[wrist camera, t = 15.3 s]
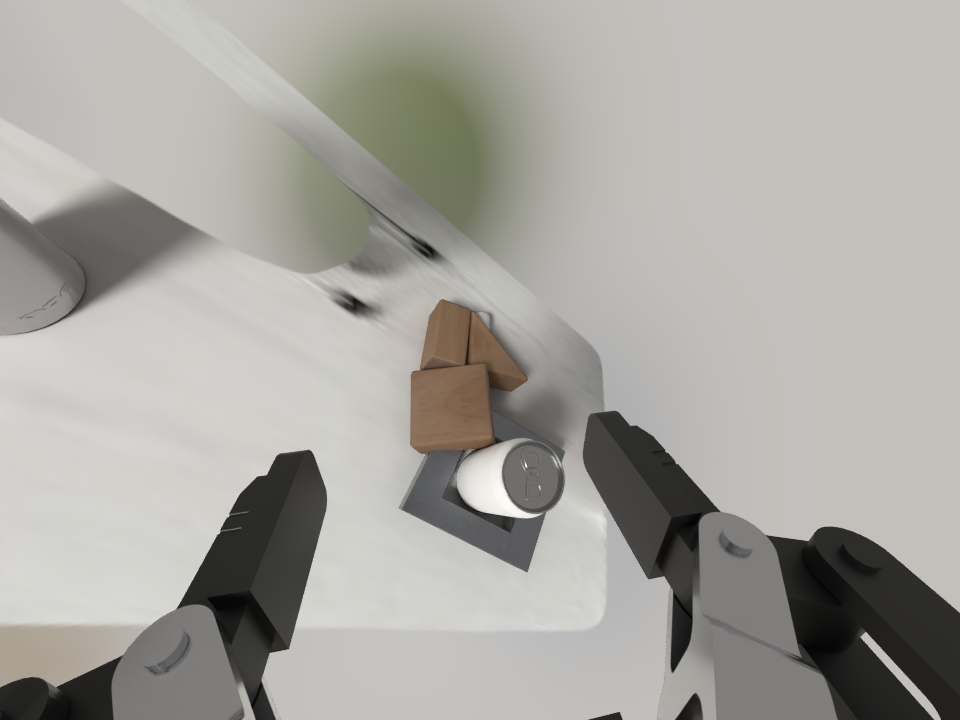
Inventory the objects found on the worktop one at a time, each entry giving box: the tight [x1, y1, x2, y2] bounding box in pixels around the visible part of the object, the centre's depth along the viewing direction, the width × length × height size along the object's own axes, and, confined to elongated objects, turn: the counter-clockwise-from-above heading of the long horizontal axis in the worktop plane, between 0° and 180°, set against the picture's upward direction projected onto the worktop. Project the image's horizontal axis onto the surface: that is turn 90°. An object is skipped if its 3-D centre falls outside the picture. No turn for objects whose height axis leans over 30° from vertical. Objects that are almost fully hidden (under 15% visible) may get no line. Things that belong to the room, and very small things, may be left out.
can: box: [457, 438, 565, 518], centre depth 33 cm, size 6×6×12 cm
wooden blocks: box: [410, 299, 528, 454], centre depth 39 cm, size 8×13×18 cm
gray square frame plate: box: [399, 410, 565, 572], centre depth 37 cm, size 14×13×2 cm
